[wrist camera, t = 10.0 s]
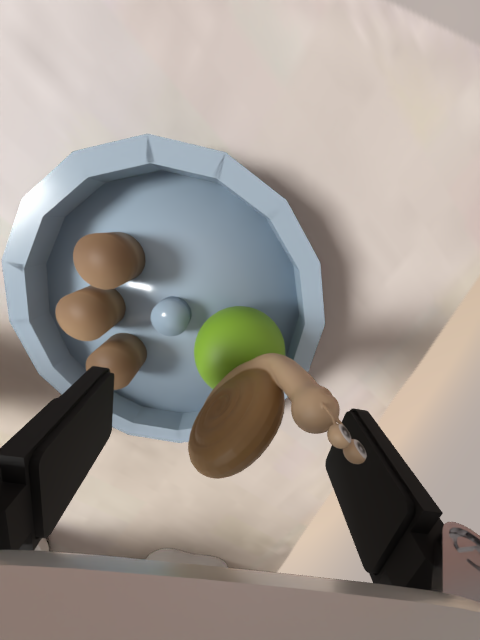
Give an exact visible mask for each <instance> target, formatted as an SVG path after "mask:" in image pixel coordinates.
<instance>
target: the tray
mask: <svg viewBox="0 0 480 640" xmlns="http://www.w3.org/2000/svg"><path fill="white" fill-rule="evenodd" d="M107 232H123V233H126V234H129V235H131V236H132V237H134V238H135V239H136V240H137V241H138V242H139V243H140V245H141V246H142V248H143V250H144V253H145V267H144V269H143V271H142V273H141V274H140V275H139V276H138V277H136V278H134V279H132V280H130V281H128V282H126V283H125V284H123V285H121V286H119V287H117V288H114V289H115V290H117V291H118V292H119V293H120V295H121V296H122V298H123V299H124V302H125V306H126V311H125V315H124V317H123V319H122V320H121V321H120V322H119V323H117V324H116V325H115V326H114V327H112V328H111V329H110V330H109V331H107V332H106V333H105V334H104V335H102V336H101V337H100V338H98V339H96V340H93V341H81V340H78V339H75V338H73V337H71V336H69V335H68V334H67V333H66V332H65V331H64V330H63V329H62V328H61V327H60V325H59V323H58V321H57V319H56V314H55V310H56V306H57V303H58V302H59V300H60V299H61V298H62V297H64V296H66V295H68V294H70V293H73V292H75V291H78V290H80V289H83V288H85V287H88V286H90V284H88V283H87V282H86V281H84V280H83V278H82V277H81V276H80V275H79V273H78V272H77V270H76V268H75V265H74V261H73V251H74V247H75V245H76V243H77V242H78V241H79V240H80V239H81V238H82V237H84V236H86V235H88V234H93V233H107ZM2 267H3V275H4V283H5V290H6V298H7V306H8V314H9V321H10V323H11V325H12V327H13V329H14V330H15V332H16V334H17V336H18V338H19V339H20V341H21V343H22V345H23V347H24V348H25V350H26V352H27V354H28V356H29V357H30V359H31V361H32V363H33V365H34V367H35V368H36V370H37V372H38V373H39V374H40V375H41V376H42V377H43V378H44V379H45V380H46V381H47V382H48V383H49V384H51V385H52V386H53V387H54V388H55V389H56V390H57V391H58V392H59V393H60V394H61V395H62V394H63V393H64V392H65V391H66V390H67V389H68V388H69V387H71V386H72V385H73V384H74V383H75V382H76V381H77V380H78V379H79V378H80V377H81V376H82V375H83V374H84V373H85V372H86V360H87V358H88V357H89V355H90V354H91V353H93V352H94V351H95V350H96V349H97V348H98V347H100V346H101V345H102V344H103V343H104V342H105V341H106V340H108V339H109V338H110V337H111V336H113V335H115V334H117V333H129V334H132V335H134V336H136V337H138V338H139V339H140V340H141V341H142V342H143V343H144V345H145V347H146V350H147V358H146V361H145V362H144V364H143V365H142V367H141V368H140V369H139V371H138V372H137V374H136V375H135V376H134V378H133V379H132V381H131V382H130V383H129V384H128V385H127V386H126V387H124V388H122V389H117V390H114V395H113V416H112V427H113V428H115V429H118V430H120V431H122V432H124V433H126V434H128V435H133V436H139V437H146V438H152V439H158V440H164V441H171V442H177V443H182V442H189V437H190V432H191V429H192V426H193V424H194V421H195V419H196V417H197V415H198V413H199V412H200V410H201V409H202V407H203V405H204V403H205V401H206V399H207V398H208V396H209V394H210V393H211V391H212V390H213V389H212V388H211V387H210V386H208V385H207V384H206V382H205V381H204V380H203V379H202V377H201V376H200V374H199V372H198V370H197V367H196V363H195V358H194V346H195V341H196V337H197V335H198V332H199V330H200V328H201V327H202V325H203V324H204V323H205V322H206V320H207V319H208V318H210V317H211V316H212V315H213V314H215V313H216V312H218V311H220V310H222V309H225V308H228V307H233V306H246V307H251V308H254V309H257V310H259V311H261V312H263V313H265V314H266V315H267V316H269V317H270V318H271V319H272V320H273V321H274V322H275V324H276V325H277V326H278V328H279V330H280V331H281V334H282V336H283V339H284V343H285V356H287V357H289V358H291V359H292V360H294V361H295V362H296V363H298V364H299V365H300V366H301V367H302V368H303V369H304V370H306V371H307V372H308V371H309V368H310V365H311V363H312V360H313V357H314V354H315V351H316V348H317V346H318V343H319V340H320V337H321V334H322V331H323V329H324V326H325V318H324V305H323V292H322V279H321V266H320V261H319V259H318V258H317V256H316V254H315V252H314V250H313V248H312V246H311V244H310V243H309V241H308V239H307V237H306V235H305V233H304V231H303V230H302V228H301V226H300V224H299V222H298V220H297V218H296V217H295V215H294V213H293V211H292V209H291V207H290V205H289V204H288V202H287V200H286V199H284V198H283V197H282V196H281V195H279V194H278V193H277V192H275V191H274V190H273V189H272V188H270V187H269V186H268V185H266V184H265V183H264V182H263V181H261V180H260V179H259V178H258V177H256V176H255V175H254V174H252V173H251V172H250V171H249V170H247V169H246V168H245V167H243V166H242V165H241V164H240V163H238V162H237V161H236V160H235V159H233V158H232V157H231V156H229V155H228V154H227V153H225V152H222V151H218V150H214V149H209V148H205V147H201V146H197V145H193V144H188V143H184V142H180V141H176V140H172V139H168V138H163V137H159V136H155V135H151V134H144V135H140V136H135V137H131V138H127V139H123V140H119V141H114V142H110V143H106V144H102V145H98V146H93V147H89V148H85V149H81V150H77V151H74V152H72V153H71V154H70V155H69V156H68V157H67V158H65V159H64V160H63V161H62V162H61V163H60V164H59V165H58V166H57V167H56V168H55V169H53V170H52V171H51V172H50V173H49V174H48V175H47V176H46V177H45V178H44V179H43V180H42V181H40V182H39V183H38V184H37V185H36V186H35V187H34V188H33V189H32V190H31V191H30V192H28V193H27V194H26V195H25V196H24V197H23V198H22V200H21V203H20V206H19V209H18V212H17V215H16V218H15V221H14V224H13V227H12V230H11V233H10V236H9V239H8V242H7V245H6V248H5V251H4V254H3V257H2ZM287 397H288V396H287V395H286V394H285V393H284V398H285V399H286V398H287Z"/></svg>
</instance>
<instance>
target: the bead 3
mask: <svg viewBox="0 0 480 640" xmlns="http://www.w3.org/2000/svg"><path fill="white" fill-rule="evenodd" d="M146 358H147V350H146V347H145V345H144V343H143V342H142V341H141V340H140V339H139V338H138V337H136V336H134V335H132V334H129V333H117V334H115V335H113V336H111V337H110V338H109V339H108V340H106V341H105V342H104V343H103V344H102V345H101V346H100V347H98V348H97V349H96V350H95V351H94V352H93V353H91V354H90V355H89V357H88V358H87V360H86V371H87V370H88V369H89V368H91V367H92V366H98V367H104V368H109V369H110V373H114V390H117V389H122V388H124V387H126V386H127V385H128V384H129V383H130V382H131V381H132V379H133V378H134V376H135V375H136V374H137V372H138V371H139V369H140V368H141V367H142V365H143V364H144V362H145V361H146Z"/></svg>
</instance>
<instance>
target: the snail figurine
mask: <svg viewBox="0 0 480 640" xmlns="http://www.w3.org/2000/svg"><path fill="white" fill-rule="evenodd" d="M194 358H195V363H196V367H197V370H198V372H199V374H200V376H201V377H202V379H203V380H204V381H205V382H206V384H207V385H208V386H210V387H211V388H212V389H213V390H212V391H211V393H210V394H209V396H208V398H207V399H206V401H205V403H204V405H203V407H202V409H201V410H200V412H199V413H198V415H197V417H196V419H195V421H194V424H193V426H192V429H191V432H190V437H189V443H188V450H189V456H190V459H191V462H192V464H193V465H194V467H195V468H196V469H197V471H198V472H199V473H201V474H203V475H205V476H207V477H210V478H224V477H229V476H232V475H234V474H237V473H239V472H241V471H242V470H244V469H245V468H247V467H248V466H250V465H251V464H252V463H253V462H254V461H255V460H256V459H258V458H259V457H260V456H261V454H262V453H263V452H264V451H265V450H266V448H267V447H268V446H269V444H270V443H271V441H272V440H273V438H274V436H275V435H276V433H277V431H278V428H279V426H280V424H281V421H282V417H283V414H284V407H285V398H284V393H285V394H286V395H287V396H288V398H289V399H290V401H291V402H292V405H291V412H292V416H293V419H294V421H295V423H296V424H297V425H298V426H299V427H300V428H301V429H302V430H304V431H306V432H309V433H314V434H318V433H323V432H326V431H328V432H327V436H328V440H329V442H330V443H331V444H332V445H333V446H334V447H336V448H339V449H343V453H344V456H345V457H346V459H347V460H348V461H349V462H351V463H353V464H361V463H363V462H364V461H365V460H366V457H367V455H366V451H365V449H364V447H363V445H362V444H361V443H360V442H359V441H358V440H355V439H351V436H350V433H349V431H348V430H347V428H346V427H345V426H344V425H343V424H342V422H341V421H340V420H339V418H338V416H339V404H338V401H337V400H336V398H334V397H333V396H332V394H331V392H330V391H329V390H328V389H326V388H325V387H322V386H320V385H318V384H317V382H316V381H315V380H314V378H313V377H312V376H311V375H310V374H309V373H308V372H307V371H306V370H304V369H303V368H302V367H301V366H300V365H299V364H298V363H296V362H295V361H294V360H292V359H291V358H289V357H287V356H285V343H284V339H283V336H282V334H281V331H280V330H279V328H278V326H277V325H276V324H275V322H274V321H273V320H272V319H271V318H270V317H269V316H267V315H266V314H265V313H263V312H261V311H259V310H257V309H254V308H251V307H246V306H233V307H228V308H225V309H222V310H220V311H218V312H216V313H215V314H213V315H212V316H211V317H210V318H208V319H207V320H206V322H205V323H204V324H203V325H202V327H201V328H200V330H199V332H198V335H197V337H196V341H195V346H194ZM336 422H337V423H339V424H337V423H336Z"/></svg>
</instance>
